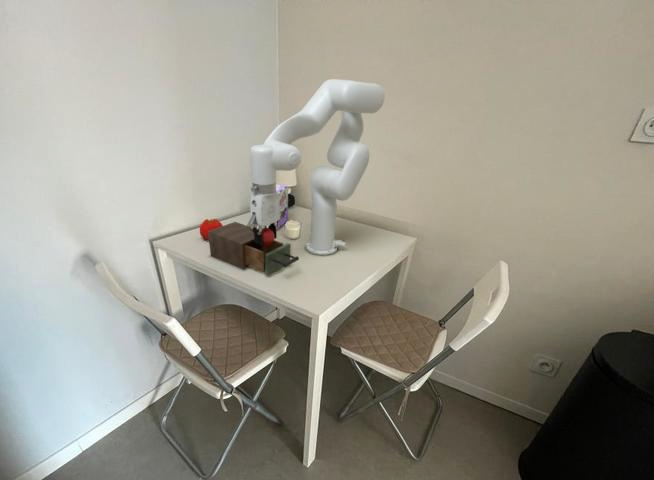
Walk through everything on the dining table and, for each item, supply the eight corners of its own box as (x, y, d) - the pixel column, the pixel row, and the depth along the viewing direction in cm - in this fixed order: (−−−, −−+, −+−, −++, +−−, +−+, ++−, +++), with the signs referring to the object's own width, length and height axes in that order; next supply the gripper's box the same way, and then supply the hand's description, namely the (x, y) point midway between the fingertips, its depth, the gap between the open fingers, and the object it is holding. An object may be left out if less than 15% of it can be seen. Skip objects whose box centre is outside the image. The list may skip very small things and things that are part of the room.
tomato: (219, 233, 147) (218, 216, 143) (227, 240, 141) (225, 223, 137) (197, 236, 142) (195, 219, 138) (204, 244, 136) (201, 226, 132)
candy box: (277, 230, 153) (277, 193, 145) (265, 228, 155) (264, 191, 146) (288, 220, 165) (288, 185, 156) (276, 218, 166) (276, 183, 157)
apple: (275, 241, 122) (275, 222, 118) (273, 248, 117) (273, 229, 113) (258, 240, 121) (257, 222, 118) (256, 248, 116) (255, 228, 113)
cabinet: (268, 257, 130) (268, 232, 125) (243, 269, 121) (241, 244, 116) (236, 245, 138) (234, 221, 133) (210, 256, 128) (207, 231, 123)
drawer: (302, 268, 122) (303, 248, 118) (281, 281, 114) (281, 260, 109) (258, 251, 132) (257, 232, 127) (234, 262, 123) (233, 242, 119)
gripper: (253, 196, 101) (256, 252, 110) (290, 185, 113) (289, 236, 123) (235, 191, 104) (239, 245, 114) (272, 180, 116) (273, 230, 126)
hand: (265, 240), depth 118 cm, fingers open, 6 cm apart
